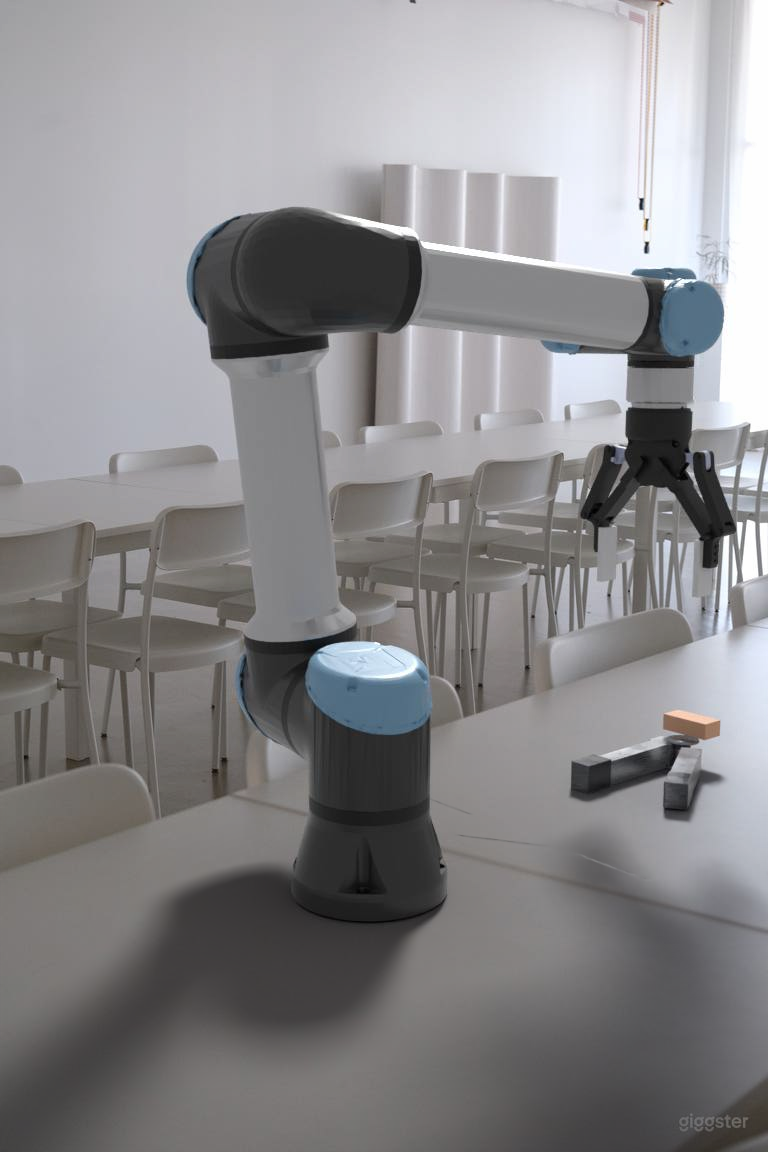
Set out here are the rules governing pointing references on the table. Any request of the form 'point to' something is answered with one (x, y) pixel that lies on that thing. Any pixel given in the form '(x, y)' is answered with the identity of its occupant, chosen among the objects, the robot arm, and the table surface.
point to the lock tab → (691, 724)
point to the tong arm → (682, 773)
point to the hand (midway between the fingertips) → (652, 588)
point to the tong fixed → (622, 764)
